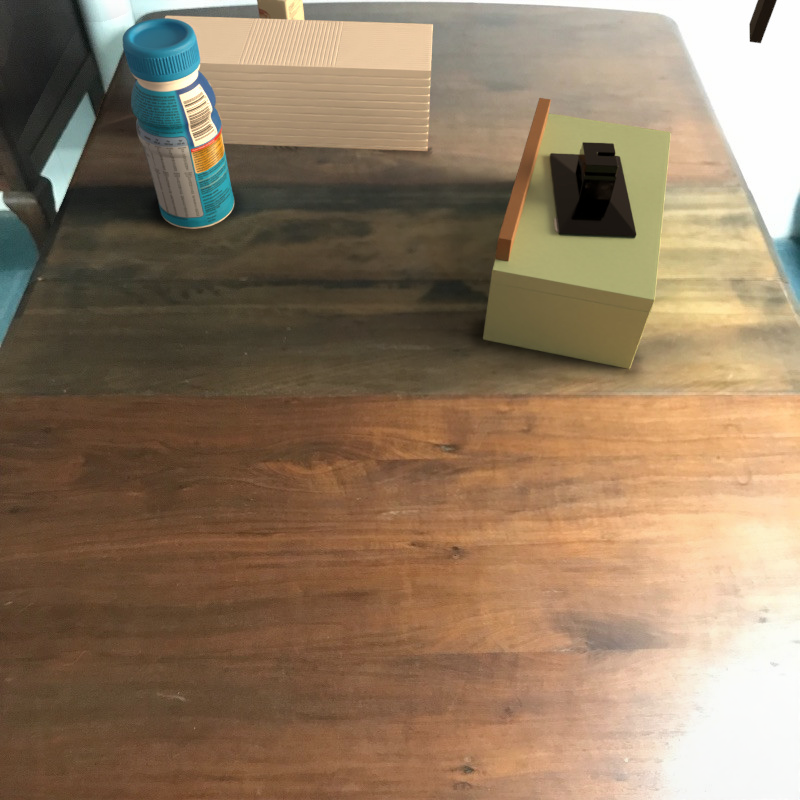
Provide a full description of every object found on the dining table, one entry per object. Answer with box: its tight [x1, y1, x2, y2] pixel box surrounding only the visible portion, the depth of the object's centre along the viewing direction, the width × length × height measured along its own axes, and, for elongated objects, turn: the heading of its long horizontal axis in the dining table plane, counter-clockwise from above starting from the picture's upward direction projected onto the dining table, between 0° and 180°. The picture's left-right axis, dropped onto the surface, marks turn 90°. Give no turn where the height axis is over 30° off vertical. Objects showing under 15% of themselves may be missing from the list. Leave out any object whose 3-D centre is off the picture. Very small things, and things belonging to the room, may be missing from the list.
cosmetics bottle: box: [256, 0, 305, 20], centre depth 105 cm, size 5×4×10 cm
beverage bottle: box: [122, 17, 235, 230], centre depth 81 cm, size 8×8×20 cm
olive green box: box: [482, 97, 672, 370], centre depth 79 cm, size 14×26×12 cm, turn 165°
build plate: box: [549, 142, 636, 239], centre depth 74 cm, size 12×7×5 cm, turn 177°
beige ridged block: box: [164, 15, 434, 152], centre depth 95 cm, size 32×11×11 cm, turn 87°
